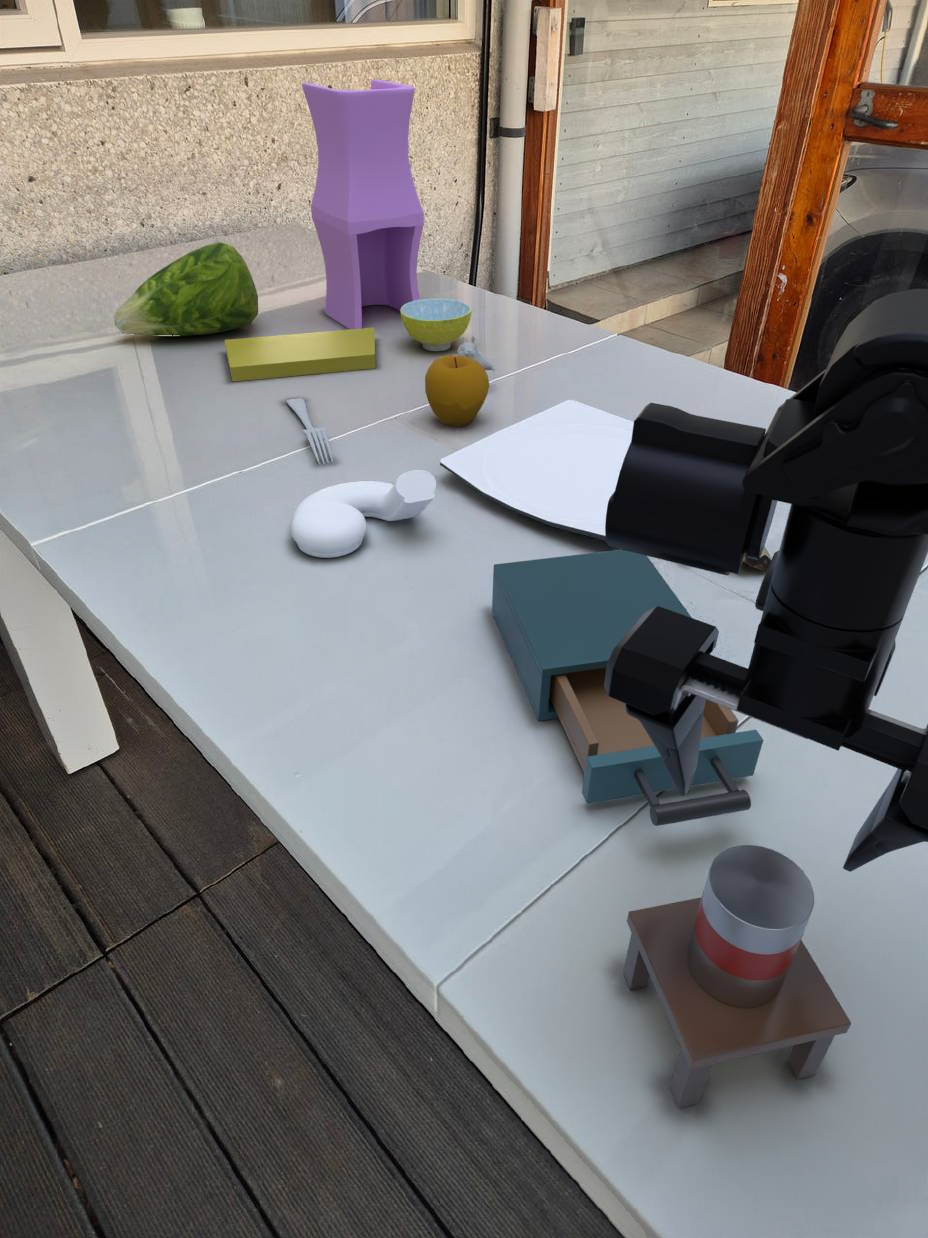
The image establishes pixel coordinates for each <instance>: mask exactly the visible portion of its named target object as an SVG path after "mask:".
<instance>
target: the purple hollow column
mask: <svg viewBox="0 0 928 1238" xmlns="http://www.w3.org/2000/svg"><path fill="white" fill-rule="evenodd" d="M301 87H302V91H303V94H304V98H305V100H306V103H307V106H308V109H309V113H310V116H311V120H312V123H313V128H314V133H315V138H316V139H315V140H316V145H317V150H318V151H317V158H318V159H317V172H316V173H317V174H316V181H315V186H314V191H313V195H312V199H311V204H310V212H311V219H312V222H313V225H314V228H315V231H316V235H317V238H318V241H319V245H320V248H321V252H322V257H323V262H324V268H325V269H324V270H325V280H326V281H325V283H326V284H325V285H326V288H325V289H326V292H325V304H324V314H325V315H326V316H328V317H329V318H331V319H332V320H334V321H335V322H337V323H339V324H340V325H341V326H344V327H345V328H346V329H347V330H349V329H361V328H363V315H362V314H363V313H362V307H366V306H367V307H368V306H373V305H374V306H376V305H378V306H389V307H392V308H394V309H395V310H398V311H399V312H400V309H401V307H402V306H403V305H405V304H406V303H409V302H412V301H415V300H421V298H420V292H419V285H418V276H417V275H418V256H419V250H420V244H421V239H422V235H423V230H424V226H425V213H424V210H423V207H422V204H421V202H420V199H419V196H418V193H417V190H416V187H415V183H414V178H413V175H412V170H411V164H410V163H411V162H410V157H409V133H410V122H411V115H412V114H411V113H412V108H413V102H414V96H415V89H416V87H414V86H412V85H408V84H403V83H398V82H392V81H390V80H389V81H387V80H384V79H371V81H370V89H359V90H357V89H356V90H355V89H352V90H351V89H350V90H348V89H336V88H332V87H326V86H323V85H318V84H314V83H310V82H305V83H304V82H303V83H301Z"/></svg>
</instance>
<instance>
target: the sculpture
mask: <svg viewBox="0 0 928 1238" xmlns="http://www.w3.org/2000/svg"><path fill="white" fill-rule="evenodd" d="M436 488H437V480H436V478H435V477H434V475H433V474H432V473H431V472H429V471H427V470H424V469H413V470H409V471H405V472H403V473H401V474H400V475H399V476H398V477H397V478H396V480H395V482H394V483H393V484H392V483H390V482H384V481H375V480H361V481H349V482H343V483H338V484H334V485H331V486H327V487H324V488H322V489H320V490H317V491H315V492H313V493H312V494H310V495H308V496H307V497H305V498H304V499H303V500H302V501H301V502H300V503H299V504H298V505H297V507H296V509H295V510H294V513H293V515H292V519H291V523H290V535H291V537H292V539H293V540H294V542H296V544H297V547H298V548H299V549H300V550H301V551H302V552H303V553H305V554H306V555H309V556H312V557H316V558H323V559H324V558H325V559H329V558H330V559H332V558H338V557H342V556H343V557H344V556H346V555H348V554H350V553H353V552H355V551H356V550H358V548H359V547H360V546H361V544H362V543H363V539H364V537H365V535H366V532H367V529H368V528H367V527H368V526H367V521H366V518H377V519H380V520H384V521H386V522H395V521H402V520H406V519H411V518H415V517H417V516H419V515H420V514H421V513H422V512H424V511H425V509H426V508H427V507H428V506H429V505H430V504H431V502H432V501H433V500H434V499H435V497H436V494H435V491H436Z"/></svg>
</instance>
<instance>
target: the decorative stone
mask: <svg viewBox="0 0 928 1238" xmlns="http://www.w3.org/2000/svg"><path fill="white" fill-rule="evenodd" d="M771 560H772V558H771V556H770V553H769V551H768V550H767V548H766V545H765V546H764V549H763V551H762V554H761V556H760V559H759V560H756V559H752V558H748V557H747V555H745V554H744V558H743V561H742V563H745V564H747V565H748V566H749V567H752V568H754V569H758V570H760V571H764V570H765V571H766V570H767V569H768V567H769V564H770V562H771Z"/></svg>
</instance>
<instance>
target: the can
mask: <svg viewBox="0 0 928 1238" xmlns="http://www.w3.org/2000/svg"><path fill="white" fill-rule="evenodd" d="M700 898H701V901H700V904H699V908H698V911H697V915H696V919H695V924H694V927H693V931H692V935H691V938H690V942H689V946H688V950H687V959H688V964H689V968H690V970H691V973H692V975H693V977H694V978H695V980H696V981H697V983H698V984H699V985H700V986H701V987H702V989H704V990H705V991H706V992H707V993H708V994H709V995H711V996H712V997H713V998H715V999H717V1000H719V1001H721V1002H723V1003H725V1004H728V1005H731V1006H735V1007H740V1008H753V1007H758V1006H762V1005H764V1004H766V1003H768V1002H770V1001H771V1000H773V999H774V998H775V997H776V996H777V994H778V993H779V991H780V989H781V987H782V985H783V982H784V980H785V977H786V975H787V972H788V970H789V967H790V965H791V963H792V961H793V959H794V956H795V954H796V951H797V949H798V946H799V944H800V941H801V940H802V939H803V936H804V932H805V930H806V927H807V925H808V923H809V920H810V917H811V915H812V913H813V910H814V907H815V892H814V887H813V885H812V883H811V881H810V878H809V877H808V876H807V874H806V873H805V872H804V870H803V869H802V868H801V867H800V866H799V865H798V864H797V863H796V862H795V861H793V860H792V859H791V858H789V857H788V856H786V855H784V854H783V853H781V852H778V851H777V850H775V849H772V848H769V847H766V846H761V845H757V844H756V845H755V844H741V845H736V846H732V847H729V848H726V849H725V850H723V851H721V852H720V853H719V854H717V856H716V857H714V859H713V861H712V862H711V864H710V866H709V870H708V874H707V878H706V881H705V884H704V887H703V890H702V894H701V896H700Z"/></svg>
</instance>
